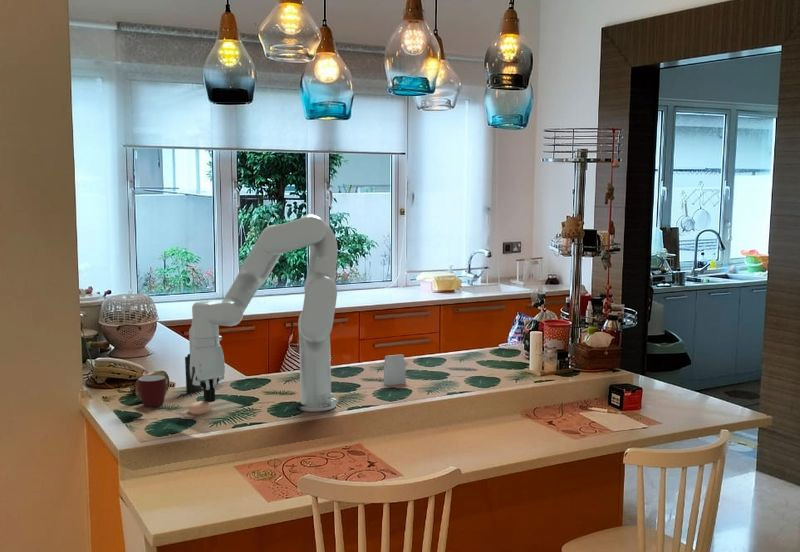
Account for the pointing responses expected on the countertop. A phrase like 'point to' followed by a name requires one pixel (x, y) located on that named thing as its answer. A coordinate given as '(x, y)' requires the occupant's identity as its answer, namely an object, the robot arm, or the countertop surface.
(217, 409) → the tan piece
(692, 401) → the countertop surface
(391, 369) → the grey tall block
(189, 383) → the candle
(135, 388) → the tin
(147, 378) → the mug
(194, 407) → the tan round bun
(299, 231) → the robot arm
